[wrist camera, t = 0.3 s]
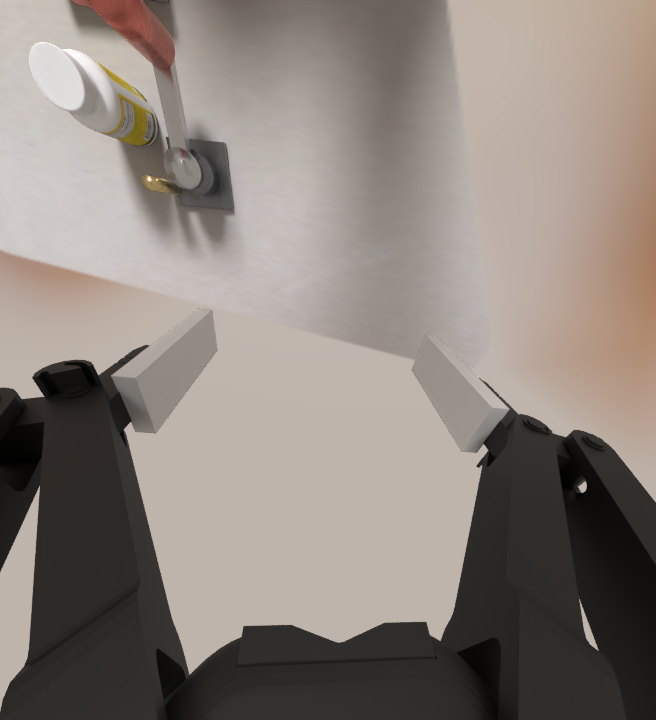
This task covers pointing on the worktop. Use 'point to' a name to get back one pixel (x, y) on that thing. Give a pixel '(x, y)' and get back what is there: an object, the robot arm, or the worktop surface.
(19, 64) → the worktop surface
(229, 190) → the crank pedestal
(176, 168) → the crank
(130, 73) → the worktop surface
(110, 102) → the supplement bottle
